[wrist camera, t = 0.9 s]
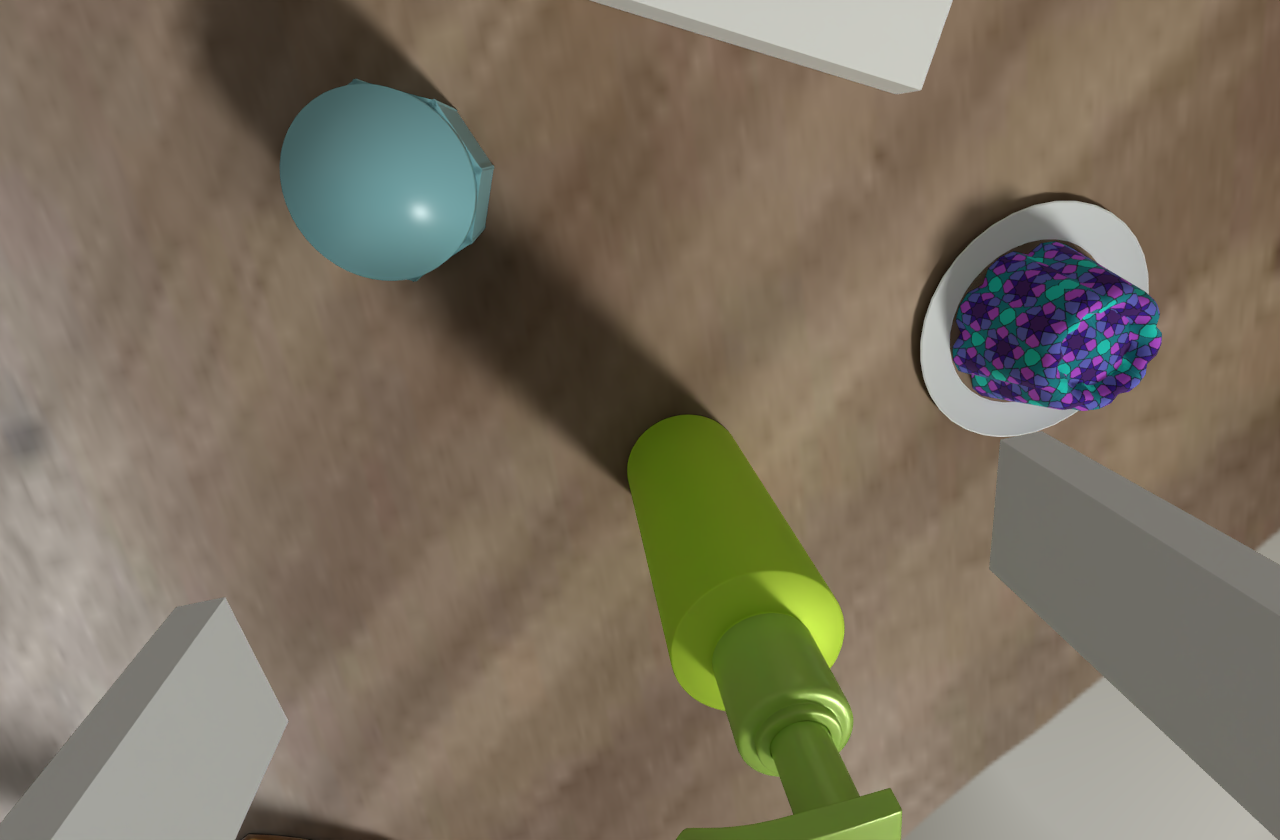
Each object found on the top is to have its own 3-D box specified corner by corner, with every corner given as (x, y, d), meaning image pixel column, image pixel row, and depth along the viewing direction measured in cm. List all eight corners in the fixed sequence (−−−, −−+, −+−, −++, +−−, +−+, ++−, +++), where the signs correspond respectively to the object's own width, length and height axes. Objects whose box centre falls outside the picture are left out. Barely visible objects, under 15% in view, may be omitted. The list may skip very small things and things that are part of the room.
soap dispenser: (598, 429, 32) (663, 809, 13) (734, 404, 32) (979, 740, 14) (616, 529, 34) (692, 969, 16) (743, 505, 34) (962, 907, 16)
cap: (331, 238, 27) (275, 260, 21) (342, 79, 25) (281, 57, 19) (479, 269, 28) (462, 298, 23) (501, 120, 26) (488, 111, 20)
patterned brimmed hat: (1096, 145, 30) (1200, 144, 25) (1162, 345, 34) (1261, 377, 30) (873, 298, 31) (931, 325, 26) (965, 471, 36) (1029, 520, 31)
